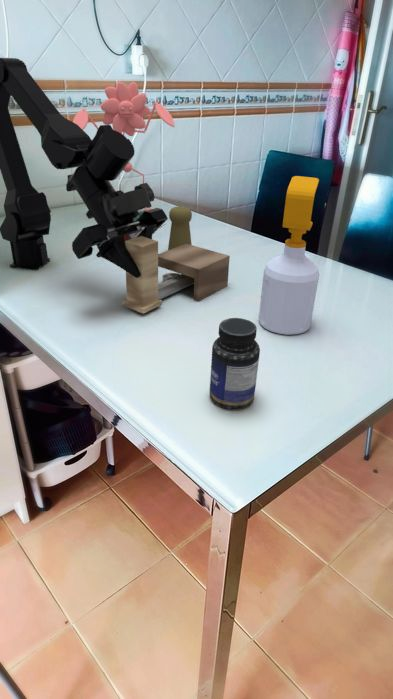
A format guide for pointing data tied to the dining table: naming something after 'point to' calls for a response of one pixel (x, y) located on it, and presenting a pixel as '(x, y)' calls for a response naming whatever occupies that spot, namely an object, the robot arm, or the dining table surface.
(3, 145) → the robot arm
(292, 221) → the soap bottle
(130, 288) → the blade tool
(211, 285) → the plinth
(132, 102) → the pink daisy figurine
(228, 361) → the pill bottle
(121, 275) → the dining table surface
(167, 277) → the steel token
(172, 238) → the olive pawn figure
